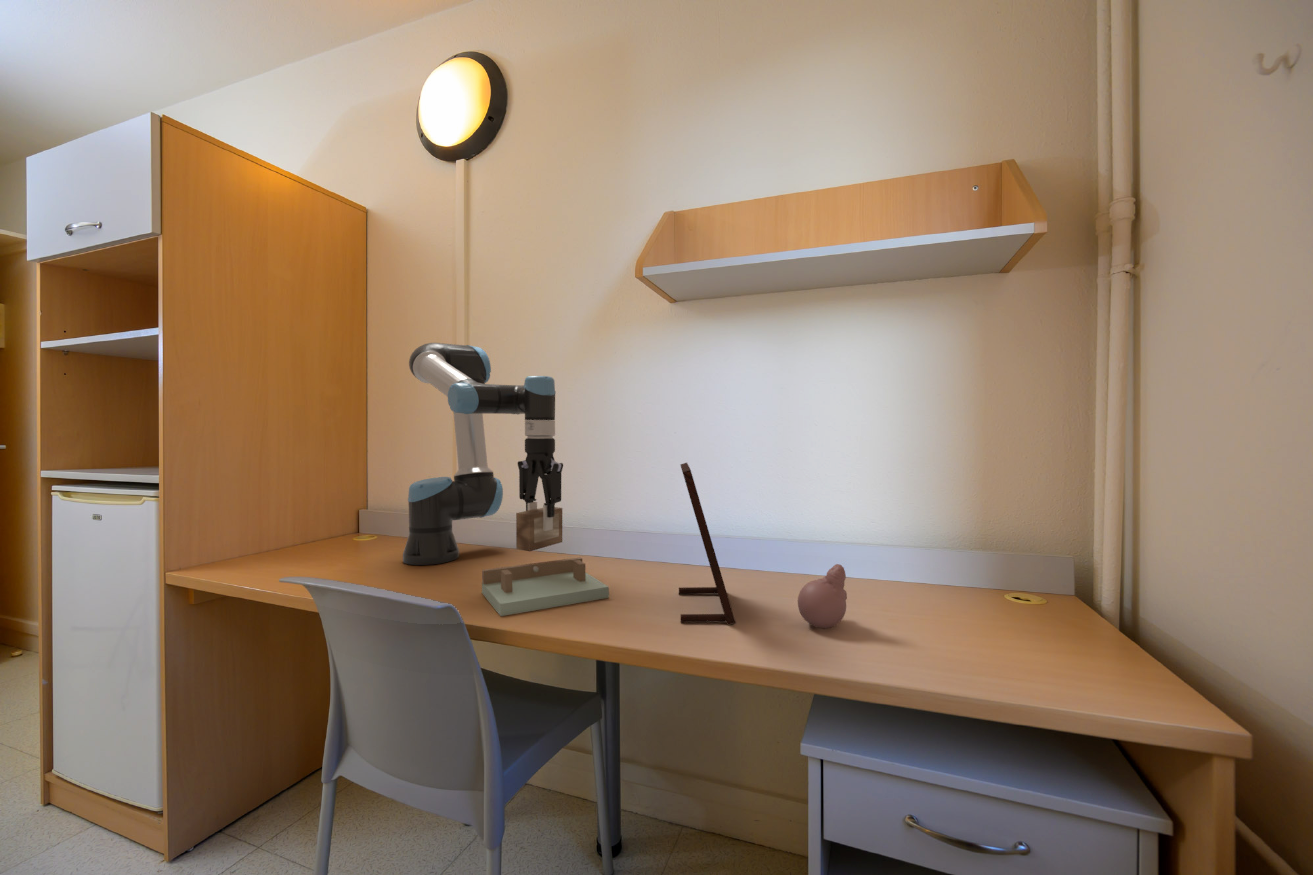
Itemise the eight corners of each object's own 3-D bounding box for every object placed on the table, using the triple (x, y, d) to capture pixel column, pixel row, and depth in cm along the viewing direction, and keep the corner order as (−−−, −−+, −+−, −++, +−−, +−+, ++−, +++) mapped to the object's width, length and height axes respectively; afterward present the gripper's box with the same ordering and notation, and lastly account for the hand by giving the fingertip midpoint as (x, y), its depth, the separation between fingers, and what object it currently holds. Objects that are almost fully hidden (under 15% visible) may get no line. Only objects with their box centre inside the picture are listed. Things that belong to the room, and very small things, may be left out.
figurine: (853, 620, 110) (853, 559, 109) (839, 638, 100) (840, 572, 100) (808, 612, 114) (808, 554, 114) (791, 629, 105) (791, 566, 104)
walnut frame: (516, 549, 138) (516, 513, 138) (549, 540, 148) (549, 506, 148) (530, 551, 136) (529, 514, 135) (562, 542, 146) (562, 508, 146)
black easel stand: (735, 625, 107) (734, 469, 107) (680, 625, 107) (679, 470, 107) (724, 592, 128) (723, 462, 127) (678, 592, 128) (677, 462, 128)
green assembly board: (482, 592, 129) (481, 565, 129) (579, 578, 140) (579, 552, 140) (500, 616, 113) (500, 584, 113) (608, 597, 125) (608, 568, 124)
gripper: (503, 436, 142) (504, 527, 143) (556, 438, 133) (556, 535, 134) (525, 436, 149) (525, 522, 150) (576, 437, 140) (576, 530, 140)
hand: (540, 528), depth 142 cm, fingers closed on walnut frame, 5 cm apart
